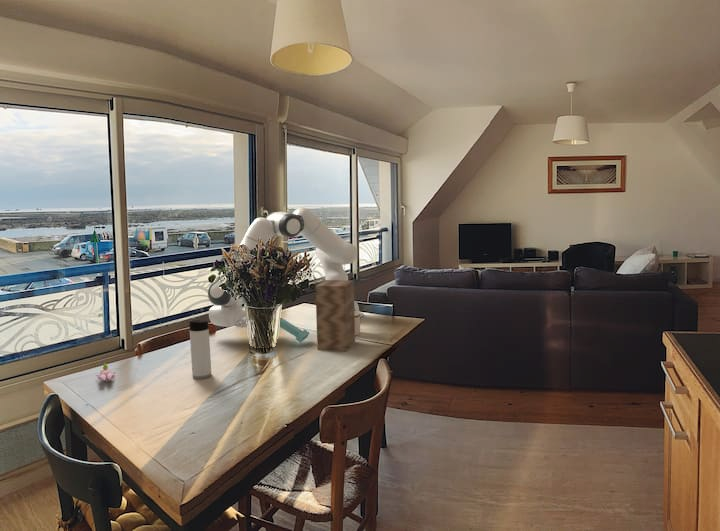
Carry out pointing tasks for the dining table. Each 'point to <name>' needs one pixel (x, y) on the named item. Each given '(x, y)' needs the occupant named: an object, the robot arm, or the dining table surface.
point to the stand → (335, 315)
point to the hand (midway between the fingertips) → (276, 318)
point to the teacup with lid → (357, 322)
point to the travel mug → (200, 349)
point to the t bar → (294, 330)
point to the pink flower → (106, 374)
